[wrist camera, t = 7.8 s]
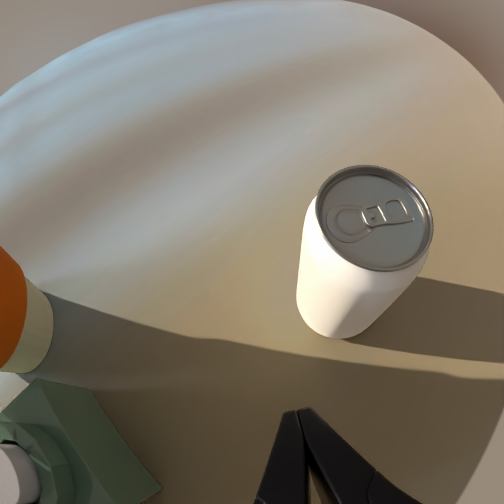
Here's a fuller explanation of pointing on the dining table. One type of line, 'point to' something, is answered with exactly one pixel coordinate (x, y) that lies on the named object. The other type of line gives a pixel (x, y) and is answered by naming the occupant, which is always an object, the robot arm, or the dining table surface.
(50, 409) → the button housing
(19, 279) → the reusable coffee cup
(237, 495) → the dining table surface
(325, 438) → the robot arm
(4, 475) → the white button cap
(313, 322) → the can
